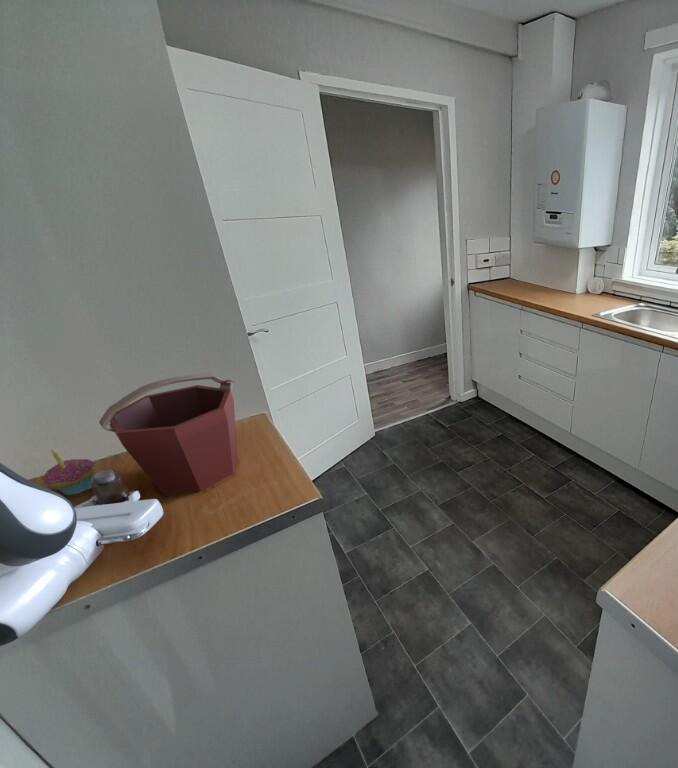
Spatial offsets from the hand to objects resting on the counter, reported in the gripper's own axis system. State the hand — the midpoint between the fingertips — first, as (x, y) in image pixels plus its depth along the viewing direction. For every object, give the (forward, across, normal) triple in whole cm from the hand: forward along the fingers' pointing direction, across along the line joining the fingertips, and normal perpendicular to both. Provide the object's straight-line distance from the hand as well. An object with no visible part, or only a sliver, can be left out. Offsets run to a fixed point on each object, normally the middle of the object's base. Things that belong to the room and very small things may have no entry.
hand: (117, 495), depth 81 cm
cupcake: (+16, +19, +8) cm, 26 cm away
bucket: (+17, -6, +8) cm, 20 cm away
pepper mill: (-1, 0, +8) cm, 8 cm away
